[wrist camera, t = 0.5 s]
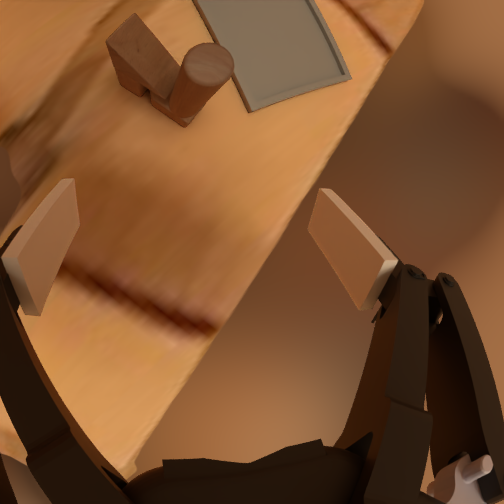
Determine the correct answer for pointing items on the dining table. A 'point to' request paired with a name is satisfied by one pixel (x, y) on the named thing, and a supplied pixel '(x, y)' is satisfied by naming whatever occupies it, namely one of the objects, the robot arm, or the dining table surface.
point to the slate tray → (274, 47)
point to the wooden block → (168, 70)
